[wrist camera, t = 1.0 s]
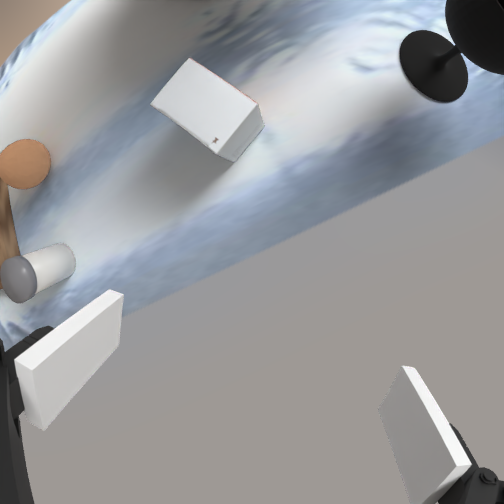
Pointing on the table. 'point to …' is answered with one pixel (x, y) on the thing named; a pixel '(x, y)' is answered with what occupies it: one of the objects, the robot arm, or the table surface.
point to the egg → (24, 164)
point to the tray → (6, 228)
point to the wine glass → (456, 48)
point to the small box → (210, 110)
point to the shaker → (36, 271)
